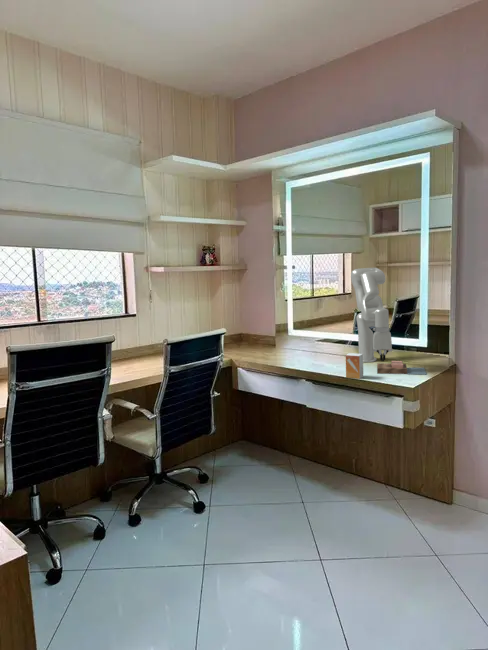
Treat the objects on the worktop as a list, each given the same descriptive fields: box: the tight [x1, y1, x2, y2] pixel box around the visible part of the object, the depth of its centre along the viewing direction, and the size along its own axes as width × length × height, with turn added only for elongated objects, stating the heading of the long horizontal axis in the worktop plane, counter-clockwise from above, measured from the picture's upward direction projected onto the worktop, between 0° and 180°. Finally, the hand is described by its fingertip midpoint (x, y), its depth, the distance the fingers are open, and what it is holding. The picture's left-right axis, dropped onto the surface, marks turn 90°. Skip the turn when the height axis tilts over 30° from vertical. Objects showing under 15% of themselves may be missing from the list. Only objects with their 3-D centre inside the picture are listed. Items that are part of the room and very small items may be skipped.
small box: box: [345, 352, 364, 380], centre depth 243 cm, size 8×6×13 cm
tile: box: [390, 360, 404, 368], centre depth 251 cm, size 6×9×2 cm, turn 163°
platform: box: [376, 362, 408, 375], centre depth 252 cm, size 16×13×3 cm
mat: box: [406, 367, 427, 376], centre depth 248 cm, size 10×15×1 cm, turn 163°
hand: (382, 361), depth 253 cm, fingers closed
